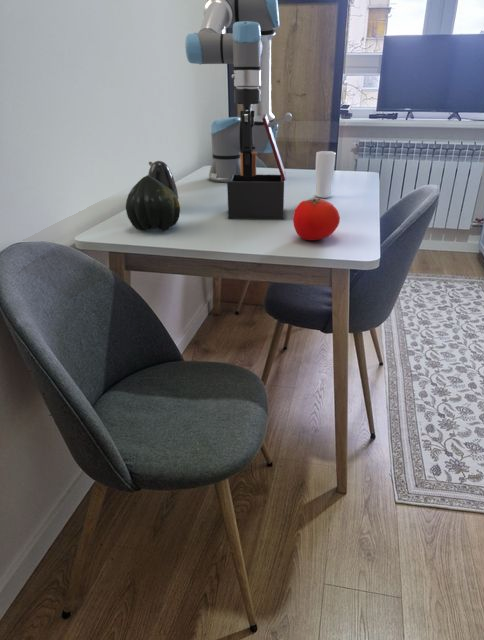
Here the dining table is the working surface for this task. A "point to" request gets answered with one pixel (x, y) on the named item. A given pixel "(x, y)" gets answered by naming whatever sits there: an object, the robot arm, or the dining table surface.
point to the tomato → (315, 219)
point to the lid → (272, 141)
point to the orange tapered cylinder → (252, 163)
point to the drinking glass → (324, 173)
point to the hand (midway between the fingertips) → (248, 174)
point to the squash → (152, 205)
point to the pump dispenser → (162, 175)
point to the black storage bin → (255, 197)
